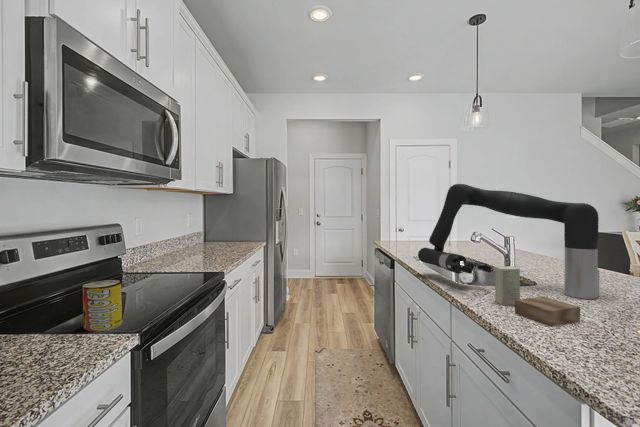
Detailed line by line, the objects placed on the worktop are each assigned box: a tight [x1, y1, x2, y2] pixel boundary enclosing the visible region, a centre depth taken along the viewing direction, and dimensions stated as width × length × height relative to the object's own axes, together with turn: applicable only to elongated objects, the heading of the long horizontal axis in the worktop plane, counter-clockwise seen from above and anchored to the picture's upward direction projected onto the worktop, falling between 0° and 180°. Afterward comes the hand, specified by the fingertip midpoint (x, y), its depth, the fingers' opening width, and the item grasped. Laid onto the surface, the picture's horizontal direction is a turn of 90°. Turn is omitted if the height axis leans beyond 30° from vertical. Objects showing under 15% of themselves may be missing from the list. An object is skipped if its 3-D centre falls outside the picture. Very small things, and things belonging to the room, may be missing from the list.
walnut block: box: [514, 296, 581, 327], centre depth 94 cm, size 11×11×4 cm
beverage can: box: [82, 279, 123, 333], centre depth 91 cm, size 9×9×12 cm
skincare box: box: [494, 265, 521, 306], centre depth 107 cm, size 6×4×12 cm
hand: (481, 270), depth 118 cm, fingers open, 8 cm apart
